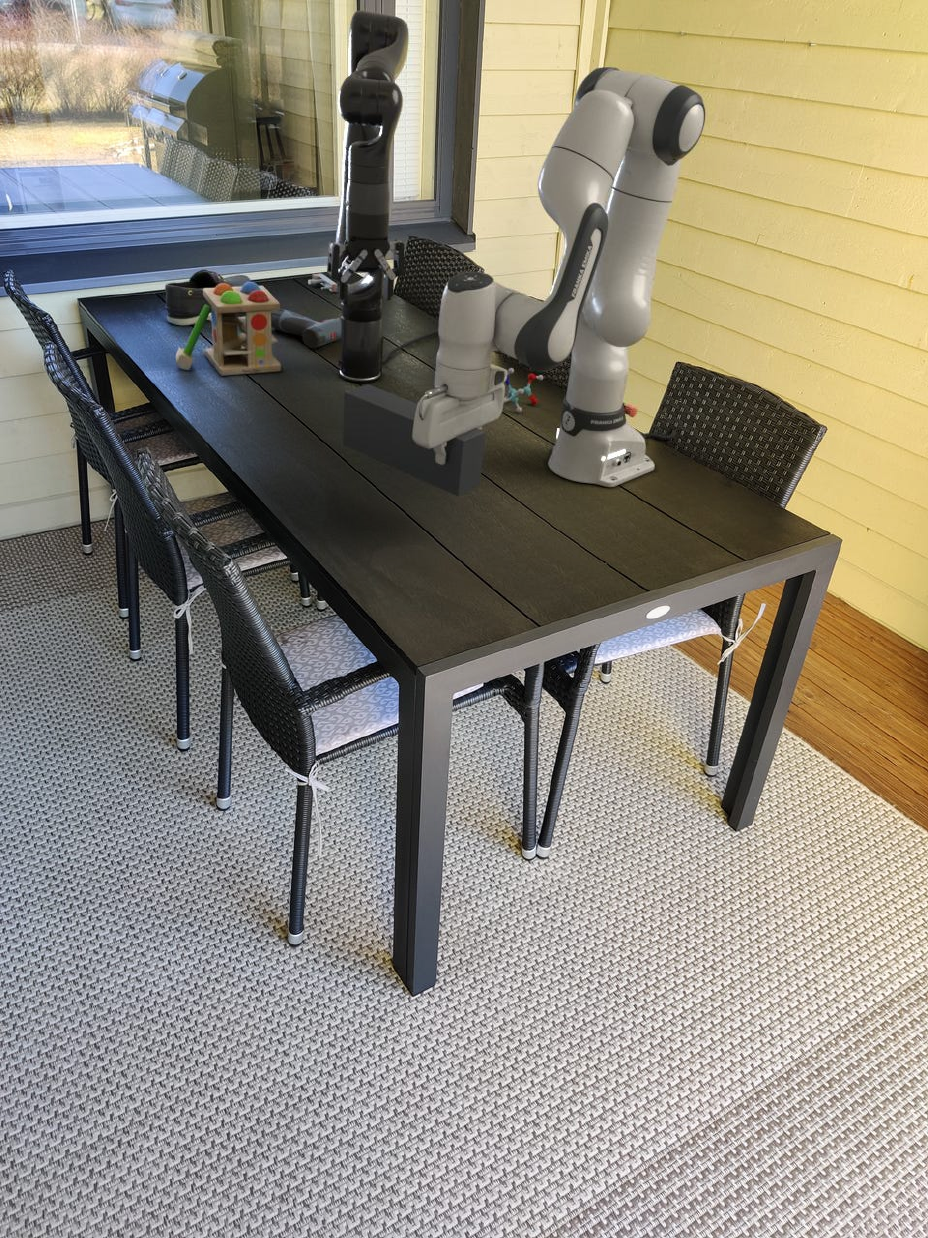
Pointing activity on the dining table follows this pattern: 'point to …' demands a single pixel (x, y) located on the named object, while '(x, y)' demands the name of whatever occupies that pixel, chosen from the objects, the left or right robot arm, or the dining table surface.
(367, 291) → the left robot arm
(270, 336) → the pounding bench toy
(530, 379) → the molecular model
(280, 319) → the power drill
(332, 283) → the clamp
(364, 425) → the box
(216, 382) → the dining table surface
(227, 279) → the boat shoe
